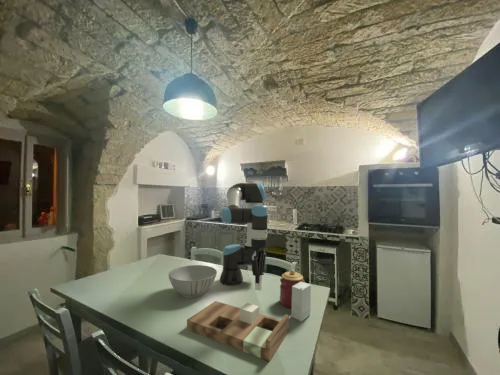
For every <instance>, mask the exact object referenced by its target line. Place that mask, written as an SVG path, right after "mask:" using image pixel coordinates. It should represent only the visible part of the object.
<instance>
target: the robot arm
mask: <svg viewBox="0 0 500 375" xmlns="http://www.w3.org/2000/svg"><path fill="white" fill-rule="evenodd" d="M226 198H227V204H226V207H223V208H221V222H222V223H226V224H227V223H228V224H235V223H236V224H246V242H245V243H244V246H242V245H241V244H237V243H236V244H229V245H228V244H227V245H226V246H225V247H223V253H222V256H223V257H222V271H221V274H220V277H219V282H220V284H222V285H225V286H238V285H241V284H242V283H243V282H244V277H243V276H244V275H243V273H242V269H241V268H242V267H241V266H251V270H252V271H251V272H252V276H254V278H255V279H254V290H255V291H261V290H262V288H263V287H262V284H263V280H262V279H263V276H264V275H265V267H266V260H267V259H266V258H267V253H268V251H266V250H265V249H266V248H267V247H268V234H269V232H268V214H269V210H268V206H267V205H263V202H265V199H266V194H265V187H264V185H263V183H259V182H256V183H255V182H254V183H253V182H252V183H251V182H250V183H249V182H237V183H235V184H234V185H232V186H230V187H229V188H228V189H227V192H226ZM241 201H244V203H245V204H246V206H247V208H246V207H241Z"/></svg>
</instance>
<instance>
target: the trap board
mask: <svg viewBox="0 0 500 375" xmlns="http://www.w3.org/2000/svg"><path fill="white" fill-rule="evenodd" d="M240 308H241V307H237V306H233V305H231V304H227V303H224V302H220V301H217V300H215V301H213V302H212V303H210V304H209V305H207V306H205V307H204V308H203V309H201V310H200V311H198V312H196V313H195V314H193V315H192V316H191V317H188V318H187V319H186V330H188V331H190V332H193V333H196V334H197V335H200V336H203V337H205V338H208V339H211V340H213V341H216V342H218V343H221V344H223V345H225V346H229V347H230V348H233V349H236V350H239V351H242V352H243V353H245V354H246V353H247V354H249V355H252V356H254V357H256V358H259V359H261V360H264V361H265V362H271V360H272V359H273V357H274V356H275V354H276V353H277V351H278V350H279V348H280V346H281V345H282V343H283V341H284V340H285V338H286V337H287V335H288V333H289V330H290V328H289V326H290V324H289V323H290V322H289V321H290V314H284V315H283V317H282V318H281V319H278V318H276V317H273V316H272V317H271V316H268V315H264V314H262V313H259V318H258V319H257V320H256V321H255V322H254V323H253V324H252V325H251V324H249V323H246V322H243V321H240Z"/></svg>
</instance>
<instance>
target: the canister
mask: <svg viewBox="0 0 500 375" xmlns="http://www.w3.org/2000/svg"><path fill="white" fill-rule="evenodd" d="M279 281H280V285H279V288H280V289H279V291H280V292H279V294H280V295H279V302H280V305H282V306H283V307H285V308H289V309H292V286H294V285H296V284H297V283H299V282H304V283H306V282H305V280H304V276H303V275H302V274H301V273H299V272H297V271H295V270H294V269H290V271H285V272H284V273H282V274H281V277H280V279H279Z"/></svg>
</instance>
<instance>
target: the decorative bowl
mask: <svg viewBox="0 0 500 375" xmlns="http://www.w3.org/2000/svg"><path fill="white" fill-rule="evenodd" d="M216 277H217V269H216V268H214V267H213V266H209V265H202V264H190V265H183V266H179V267H176V268H174V269H172V270H171V271H169V272H168V279H169V280H168V281H169V282H170V284H171V286H172V288H173V289H174V291H176V292H177V293H179V294H181V296H182V297H183V298H186V299H195V298H199V297H201V296H203V295H204V294H205V292H206V291H208V290H209V289H210V287H211V286H212V285H213V283H214V282H215V280H216Z"/></svg>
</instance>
